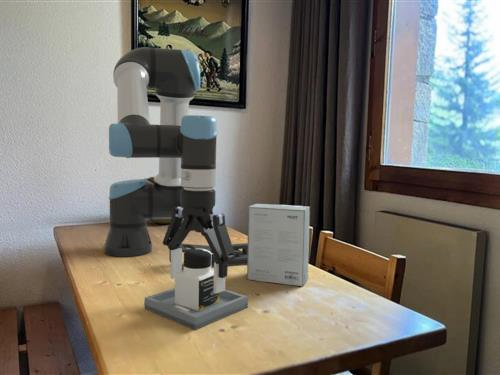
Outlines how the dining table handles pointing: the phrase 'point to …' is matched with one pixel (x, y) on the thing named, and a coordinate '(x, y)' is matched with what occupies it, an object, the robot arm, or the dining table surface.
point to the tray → (191, 318)
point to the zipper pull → (240, 255)
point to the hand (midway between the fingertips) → (196, 284)
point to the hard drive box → (278, 243)
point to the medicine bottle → (196, 281)
